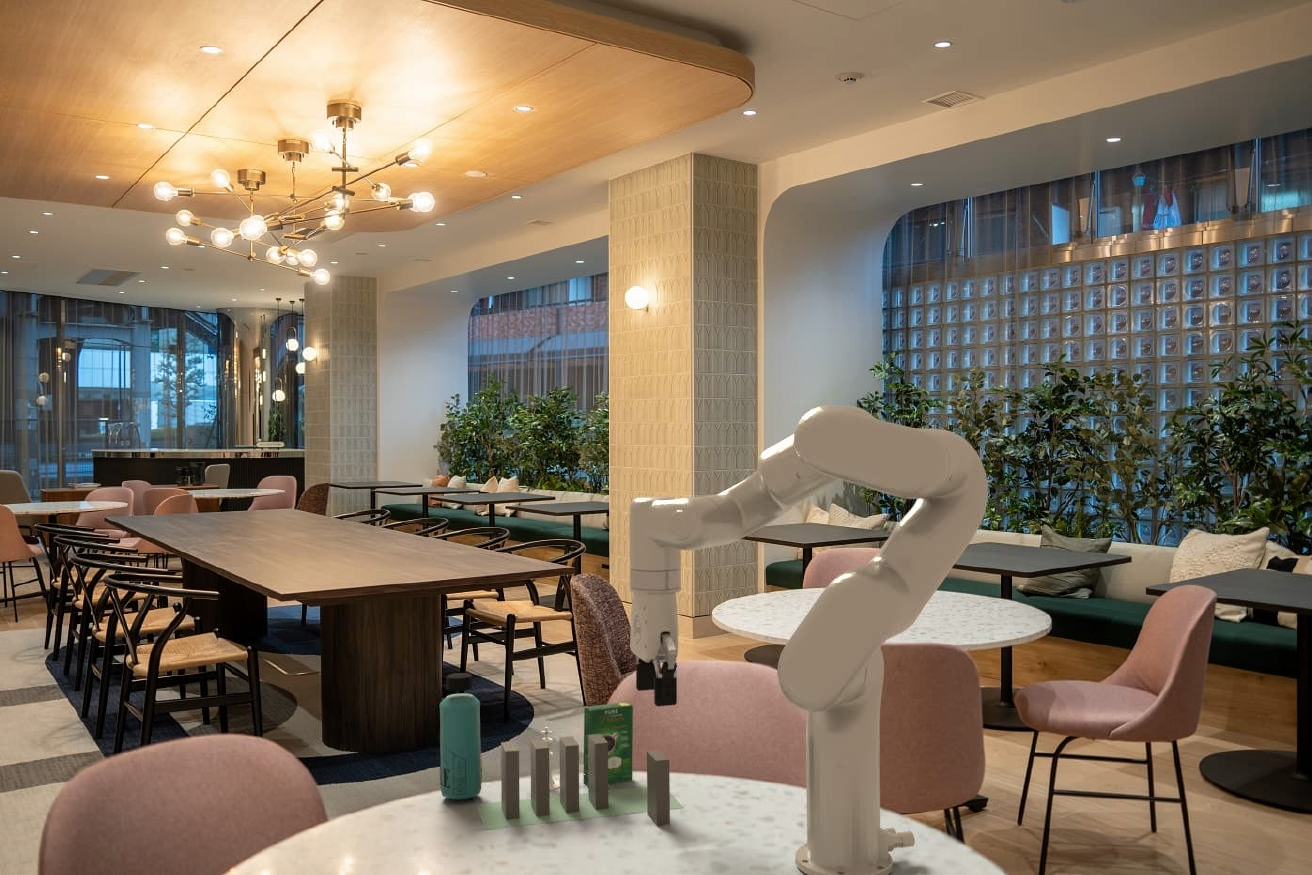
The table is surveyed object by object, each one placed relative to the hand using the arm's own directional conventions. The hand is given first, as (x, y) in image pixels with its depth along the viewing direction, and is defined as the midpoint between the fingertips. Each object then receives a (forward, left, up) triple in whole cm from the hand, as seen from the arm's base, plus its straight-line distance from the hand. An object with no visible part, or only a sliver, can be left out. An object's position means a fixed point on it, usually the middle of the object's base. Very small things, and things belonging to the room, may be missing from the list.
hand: (655, 697), depth 152 cm
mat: (+10, -9, -19) cm, 23 cm away
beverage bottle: (+27, -18, -19) cm, 37 cm away
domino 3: (+11, -9, -18) cm, 23 cm away
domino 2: (+16, -9, -18) cm, 26 cm away
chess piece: (+13, -20, -19) cm, 30 cm away
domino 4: (+7, -9, -18) cm, 21 cm away
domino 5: (0, 0, -19) cm, 19 cm away
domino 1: (+20, -9, -18) cm, 29 cm away
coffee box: (+3, -19, -19) cm, 27 cm away
